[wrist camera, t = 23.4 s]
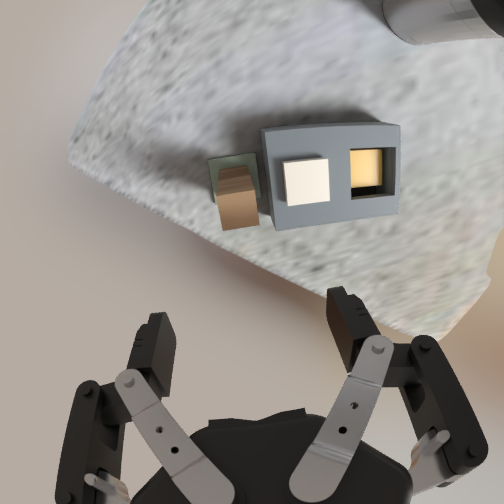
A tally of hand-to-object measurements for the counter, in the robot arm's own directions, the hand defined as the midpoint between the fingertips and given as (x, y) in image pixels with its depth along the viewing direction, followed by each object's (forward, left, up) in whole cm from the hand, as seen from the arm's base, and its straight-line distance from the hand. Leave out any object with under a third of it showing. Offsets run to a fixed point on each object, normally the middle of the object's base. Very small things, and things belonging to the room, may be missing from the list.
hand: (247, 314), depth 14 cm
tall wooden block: (0, 0, -25) cm, 25 cm away
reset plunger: (0, +17, -25) cm, 31 cm away
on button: (0, +8, -23) cm, 25 cm away
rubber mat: (0, 0, -26) cm, 26 cm away
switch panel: (0, +13, -26) cm, 29 cm away
